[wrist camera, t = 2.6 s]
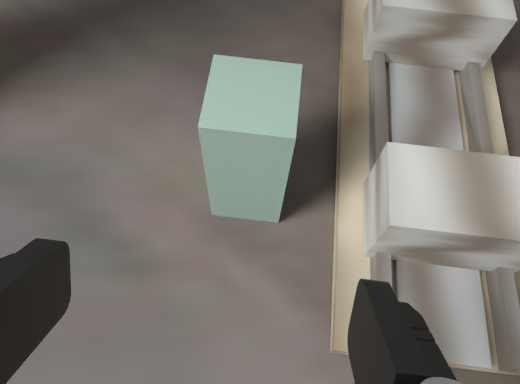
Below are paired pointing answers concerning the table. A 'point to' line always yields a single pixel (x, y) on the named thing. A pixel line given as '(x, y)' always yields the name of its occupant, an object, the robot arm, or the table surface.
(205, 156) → the sage module
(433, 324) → the rail board
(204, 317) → the table surface
